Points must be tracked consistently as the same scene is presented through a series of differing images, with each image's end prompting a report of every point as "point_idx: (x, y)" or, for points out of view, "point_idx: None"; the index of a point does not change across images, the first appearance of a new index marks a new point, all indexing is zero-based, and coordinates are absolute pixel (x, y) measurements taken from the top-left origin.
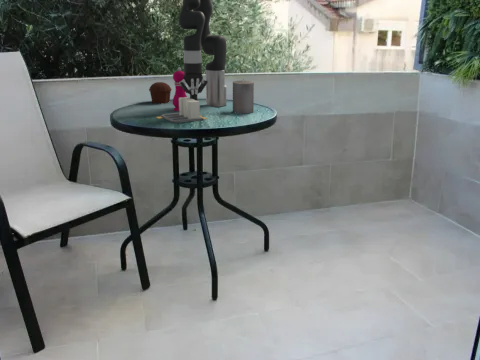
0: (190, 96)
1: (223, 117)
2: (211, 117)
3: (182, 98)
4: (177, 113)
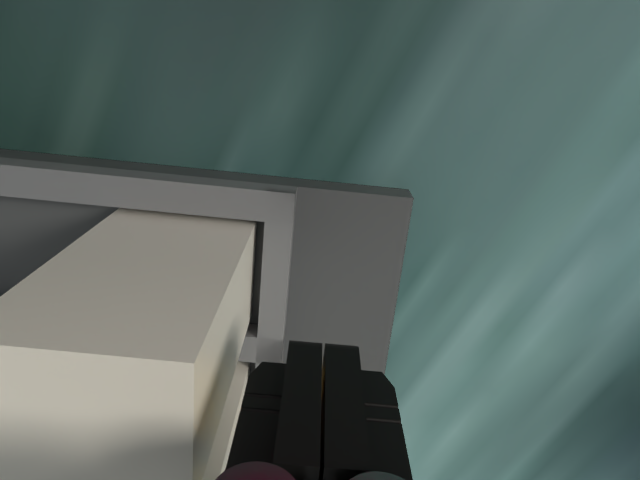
0: (236, 462)
1: (607, 445)
2: (496, 381)
3: (6, 464)
4: (87, 197)
